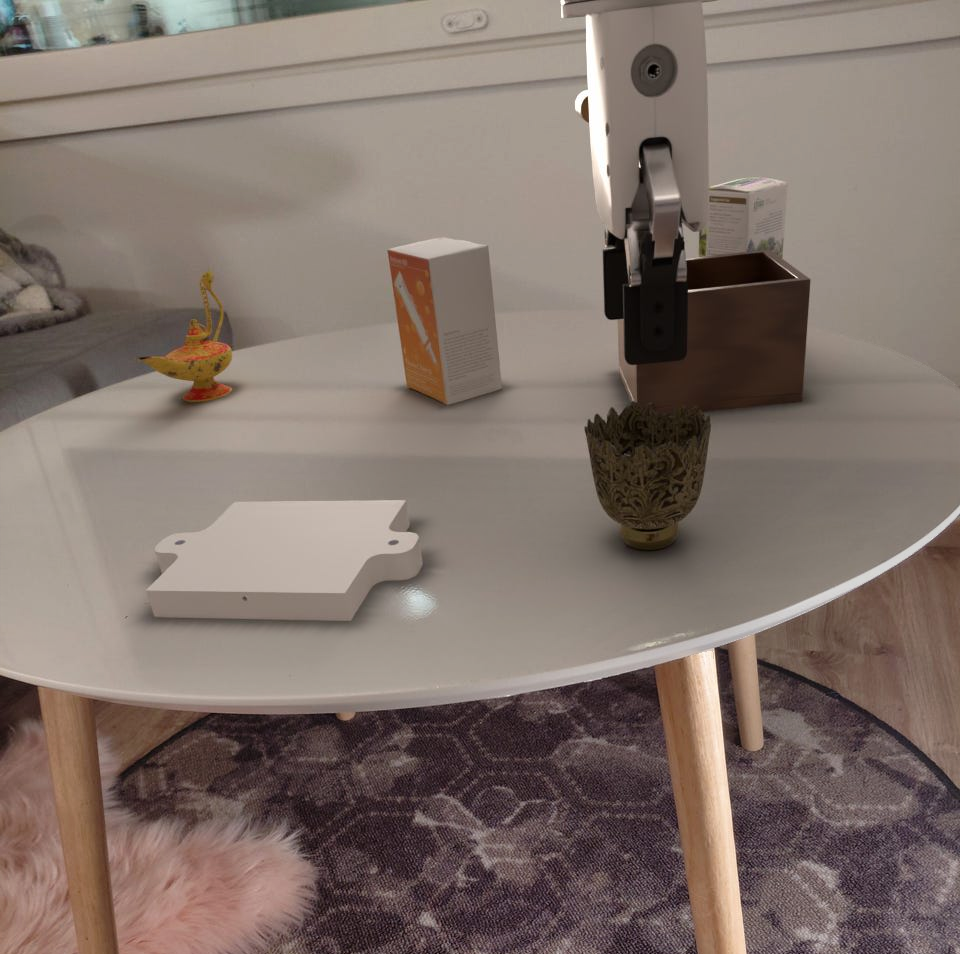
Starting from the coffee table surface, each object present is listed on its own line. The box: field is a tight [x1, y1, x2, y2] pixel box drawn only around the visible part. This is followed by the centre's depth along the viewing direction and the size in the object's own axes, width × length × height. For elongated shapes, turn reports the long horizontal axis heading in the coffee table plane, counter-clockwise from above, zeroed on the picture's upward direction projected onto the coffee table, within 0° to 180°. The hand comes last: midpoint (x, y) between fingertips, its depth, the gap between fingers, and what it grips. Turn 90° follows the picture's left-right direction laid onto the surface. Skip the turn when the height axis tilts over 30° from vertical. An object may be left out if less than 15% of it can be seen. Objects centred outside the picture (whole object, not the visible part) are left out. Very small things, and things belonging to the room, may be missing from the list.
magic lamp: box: [133, 269, 233, 403], centre depth 97 cm, size 7×18×11 cm, turn 167°
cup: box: [583, 401, 712, 551], centre depth 60 cm, size 8×7×8 cm
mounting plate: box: [145, 499, 424, 622], centre depth 64 cm, size 18×13×2 cm
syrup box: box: [698, 177, 788, 259], centre depth 93 cm, size 6×6×14 cm
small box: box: [387, 237, 503, 406], centre depth 90 cm, size 8×6×13 cm
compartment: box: [617, 249, 812, 416], centre depth 84 cm, size 14×13×10 cm
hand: (642, 337), depth 55 cm, fingers open, 9 cm apart
